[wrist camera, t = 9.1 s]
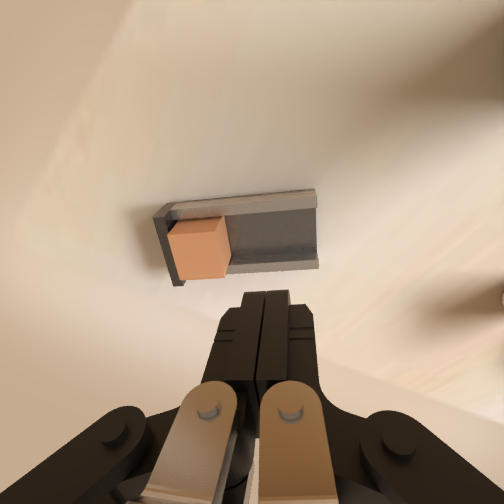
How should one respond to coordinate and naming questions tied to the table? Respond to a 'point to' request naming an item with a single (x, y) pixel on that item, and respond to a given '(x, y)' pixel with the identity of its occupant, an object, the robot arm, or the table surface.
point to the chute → (253, 230)
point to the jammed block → (200, 248)
